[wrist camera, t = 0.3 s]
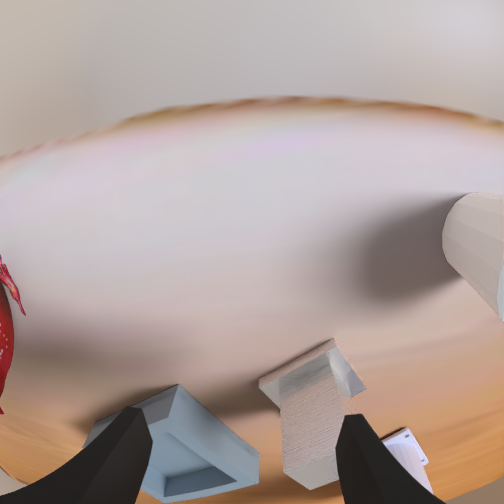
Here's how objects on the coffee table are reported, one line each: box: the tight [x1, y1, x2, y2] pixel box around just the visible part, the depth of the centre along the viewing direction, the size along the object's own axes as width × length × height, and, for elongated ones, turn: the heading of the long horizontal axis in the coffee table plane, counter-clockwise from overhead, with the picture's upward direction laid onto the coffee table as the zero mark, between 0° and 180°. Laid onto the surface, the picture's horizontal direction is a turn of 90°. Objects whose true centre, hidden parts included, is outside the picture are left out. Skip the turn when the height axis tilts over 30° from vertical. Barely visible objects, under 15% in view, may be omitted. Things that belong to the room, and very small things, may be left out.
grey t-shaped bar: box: [259, 338, 366, 490], centre depth 18 cm, size 5×6×8 cm
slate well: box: [82, 384, 259, 503], centre depth 23 cm, size 10×11×4 cm
